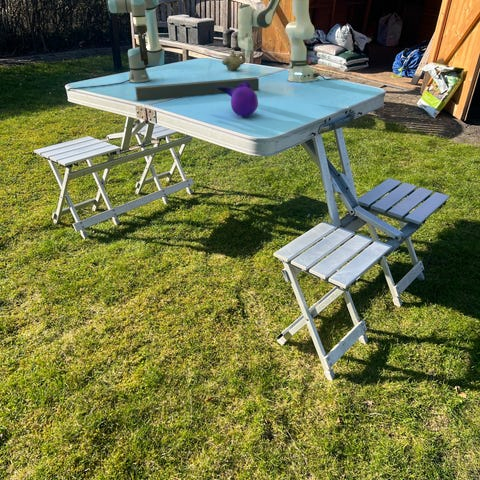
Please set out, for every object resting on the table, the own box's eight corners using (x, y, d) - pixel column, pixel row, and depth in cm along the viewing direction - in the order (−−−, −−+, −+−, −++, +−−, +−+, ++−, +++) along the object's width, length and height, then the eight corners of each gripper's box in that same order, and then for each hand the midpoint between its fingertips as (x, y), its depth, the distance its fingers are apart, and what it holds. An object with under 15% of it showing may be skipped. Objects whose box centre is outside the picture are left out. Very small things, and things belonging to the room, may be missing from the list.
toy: (241, 106, 267) (257, 123, 246) (213, 101, 259) (228, 118, 239) (248, 79, 259) (266, 94, 238) (220, 73, 251) (235, 89, 231)
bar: (137, 101, 284) (136, 88, 280) (136, 99, 289) (135, 86, 285) (258, 90, 304) (258, 78, 300) (255, 88, 309) (255, 77, 305)
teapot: (225, 72, 362) (225, 52, 354) (219, 70, 371) (218, 51, 363) (248, 69, 371) (248, 50, 364) (241, 67, 380) (241, 48, 372)
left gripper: (149, 26, 257) (153, 65, 268) (144, 22, 277) (148, 59, 288) (136, 27, 255) (141, 66, 266) (131, 23, 275) (136, 59, 286)
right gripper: (255, 34, 278) (255, 58, 286) (245, 31, 295) (245, 53, 302) (245, 35, 277) (246, 59, 284) (235, 32, 294) (236, 54, 301)
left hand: (144, 62), depth 277 cm, fingers open, 13 cm apart
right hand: (245, 56), depth 293 cm, fingers open, 8 cm apart
